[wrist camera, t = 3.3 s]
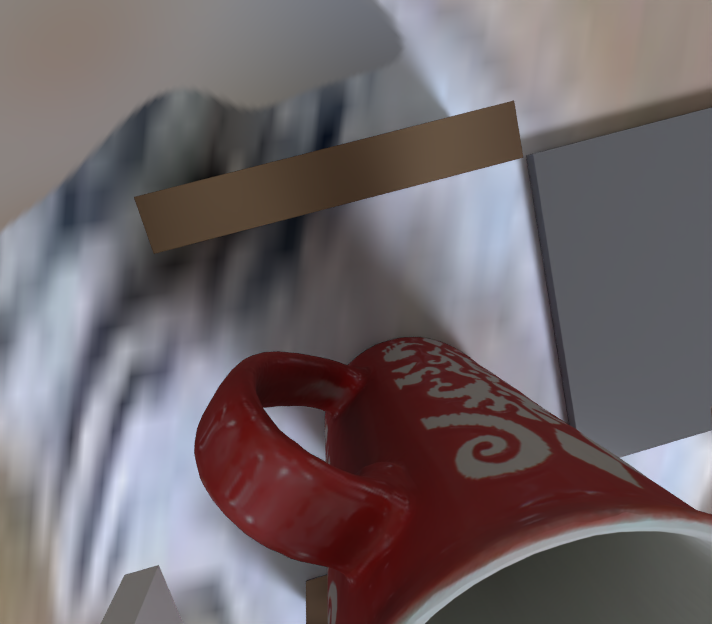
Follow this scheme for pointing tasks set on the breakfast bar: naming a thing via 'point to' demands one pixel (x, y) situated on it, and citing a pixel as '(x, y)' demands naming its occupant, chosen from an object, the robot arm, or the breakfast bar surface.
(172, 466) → the breakfast bar surface
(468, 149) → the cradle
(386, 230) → the breakfast bar surface
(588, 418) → the coaster
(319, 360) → the mug
